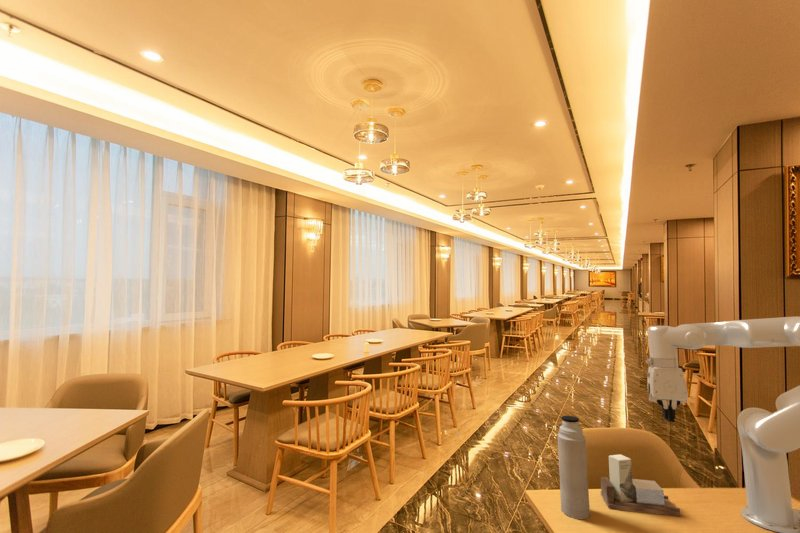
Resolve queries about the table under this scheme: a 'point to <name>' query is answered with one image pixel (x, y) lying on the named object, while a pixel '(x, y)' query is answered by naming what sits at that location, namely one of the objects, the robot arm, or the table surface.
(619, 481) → the box
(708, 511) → the table surface
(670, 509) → the clamp board
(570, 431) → the thermos bottle
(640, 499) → the block
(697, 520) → the table surface
